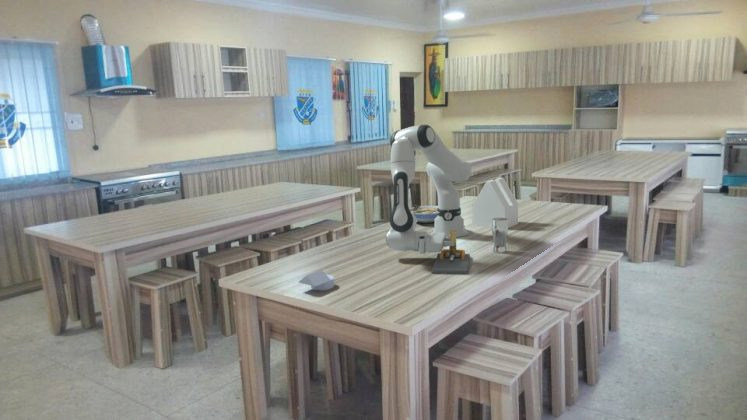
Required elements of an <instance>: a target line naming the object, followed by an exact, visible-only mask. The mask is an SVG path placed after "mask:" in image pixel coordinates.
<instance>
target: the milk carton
mask: <svg viewBox="0 0 747 420" xmlns="http://www.w3.org/2000/svg"><path fill="white" fill-rule="evenodd" d="M471 206H472V209H471V211H472V227H473V226H475V227H481V228H489V229H492V220H493V218H507V221H508V229H510V228H512V227H514V226H517V225H518V224H519V203H518V201H517V199H516V197H515V195H514V194H513V192H512V190H511V189H510V187H509V185H508V183H507V182H506V180H505V178H504V177H498V178H495V179H490V180H486V182H485V183H484V185H483V187H482V188H481V189H480V191H479V193H478V195H477V196H476V199H475V200H474V201H473V204H472V205H471Z"/></svg>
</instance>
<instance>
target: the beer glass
mask: <svg viewBox="0 0 747 420" xmlns="http://www.w3.org/2000/svg"><path fill="white" fill-rule="evenodd" d="M491 231H492V237H493V238H492V239H493V250H492V252H493V253H495V254H505V253H507V252H508V249H507V238H508V231H509V228H508V221H507V218H493V220H492V228H491Z"/></svg>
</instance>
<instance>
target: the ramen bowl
mask: <svg viewBox="0 0 747 420" xmlns="http://www.w3.org/2000/svg"><path fill="white" fill-rule="evenodd" d="M437 208H438V205H422V206H421V205H420V203H418V204H417V203H415V205H414V206H413V207H409V210H410V212H411V213H413V214H414V215H415V217H416V222H420V223H421V224H432V223H435V218H436V217H437V216H438V215H437Z"/></svg>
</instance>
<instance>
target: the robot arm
mask: <svg viewBox="0 0 747 420" xmlns="http://www.w3.org/2000/svg"><path fill="white" fill-rule="evenodd" d="M389 145H390V147H391V149H390V160H389V161H390V174H391V177H392V178H391V179H392V184H393V207H392V211H391V213H390V216H389V224H390V228H389V230H388V231H387V232H386V235H385V239H386V240H385V241H386V245H387V247H388V249H390V250H391V251H397V252H408V251H413V252H419V254H423V255H424V254H426V253H427V254H428V253H429V254H430V253H441V251H442V250H443V249H444V248H446V247H449V246H454V245H455V242H454V241H449V231H450V230H455V231H456V238H459V237H463V236H468V235H469V232H468V231H467V229H466V228H465V220H464V217H463V216H462V215H461V214H462V208H461V198H460V196H461V195H460V191H459V190H458V189H457V188H456V187H455V186H454V184H453V182H454V183H460V182H466V181H467V180H469V179H470V178H471V175H472V167H471V165H470V163H469V162H468V161H466V160H464V159H462V158H460V157H459V156H457V155H456V154H455V153H454V152H452V151H451V150H450V149H449V148H448V147H447V146H446V145H445V143H444V142H443V141H442V140H441V138H440V136H439V135H438V133H437V132H436V131H435V129H433V128H432V126H431V125H429V124H425V123H422V124H419V125H412V126H409V127H406V128H403V129H398V130H396V131H393V132H392V134H391V135H390V138H389ZM417 150H419V151H420V152H421V154H422V156H424V158H425V159H426V160H427V161H428V163H427V164H426V167H425V171H426V175H427V176H428V177H429V179H430V180H431V181H432V182H433V183H432V184H434V187H435V190H436V194H437V206H438V208H437V215H438V216H437V217H436V218H435V221H434V230H433V231H431V233H428V231H427V230H426V231H418V230H417V231H415V230H416V226H417V220H416V217H415V215H414V214H413V213H411V212H410V210H409V208H410V207H409V186H410V184H411V183H412V181H413V180H414V179H415V175H416V158H415V157H416V156H415V151H417Z"/></svg>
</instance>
